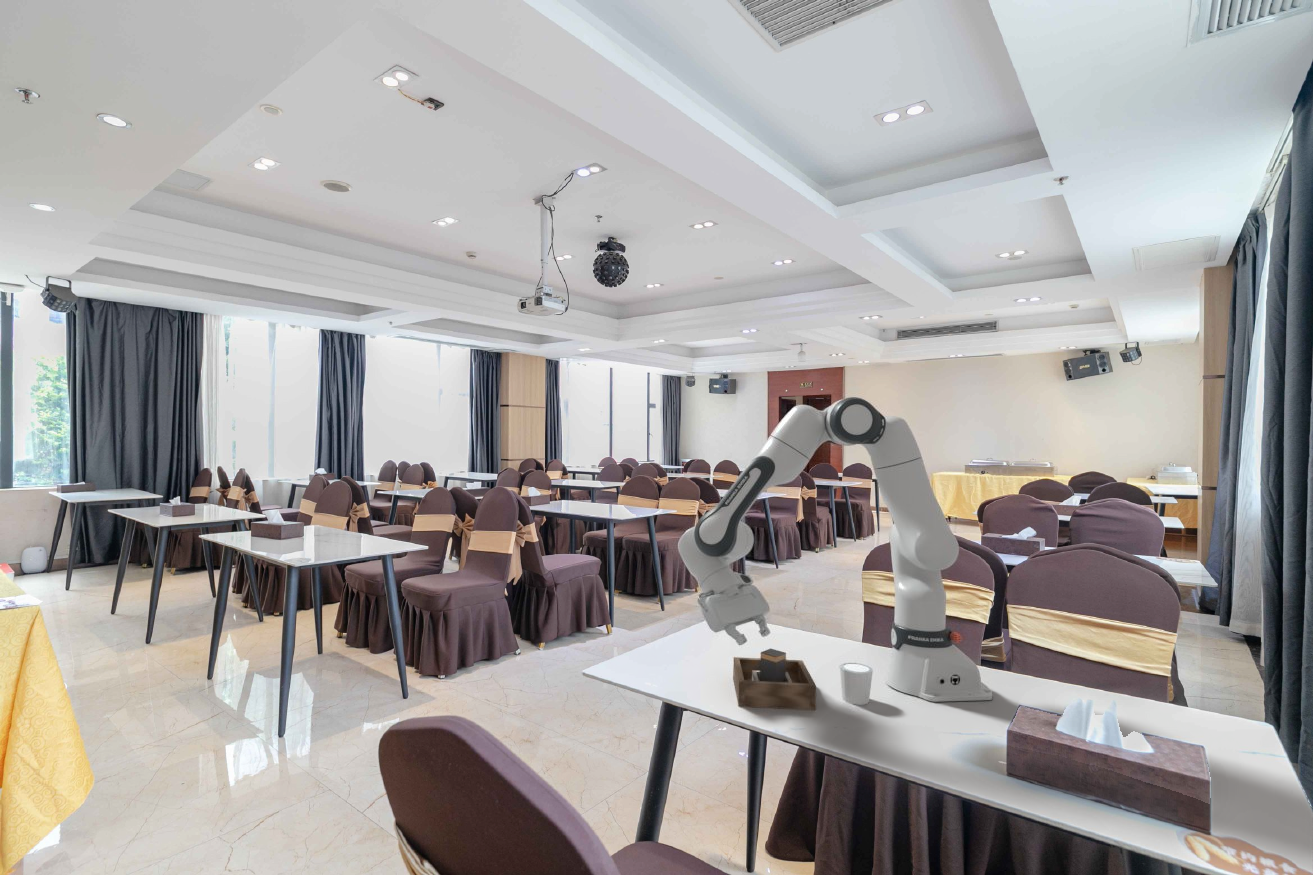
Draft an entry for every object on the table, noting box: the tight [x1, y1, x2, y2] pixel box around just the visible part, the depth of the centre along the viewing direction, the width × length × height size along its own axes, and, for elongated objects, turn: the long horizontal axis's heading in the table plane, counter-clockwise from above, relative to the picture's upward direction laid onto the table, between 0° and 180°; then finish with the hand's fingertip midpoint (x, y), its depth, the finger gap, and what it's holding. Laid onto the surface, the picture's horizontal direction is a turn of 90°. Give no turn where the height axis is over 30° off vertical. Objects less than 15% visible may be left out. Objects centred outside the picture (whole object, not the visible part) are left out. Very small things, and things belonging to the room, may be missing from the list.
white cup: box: [839, 662, 873, 706], centre depth 138 cm, size 7×7×7 cm
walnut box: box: [732, 656, 817, 711], centre depth 140 cm, size 16×16×5 cm
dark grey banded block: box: [760, 648, 787, 682], centre depth 140 cm, size 4×4×8 cm
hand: (755, 639), depth 143 cm, fingers open, 8 cm apart
